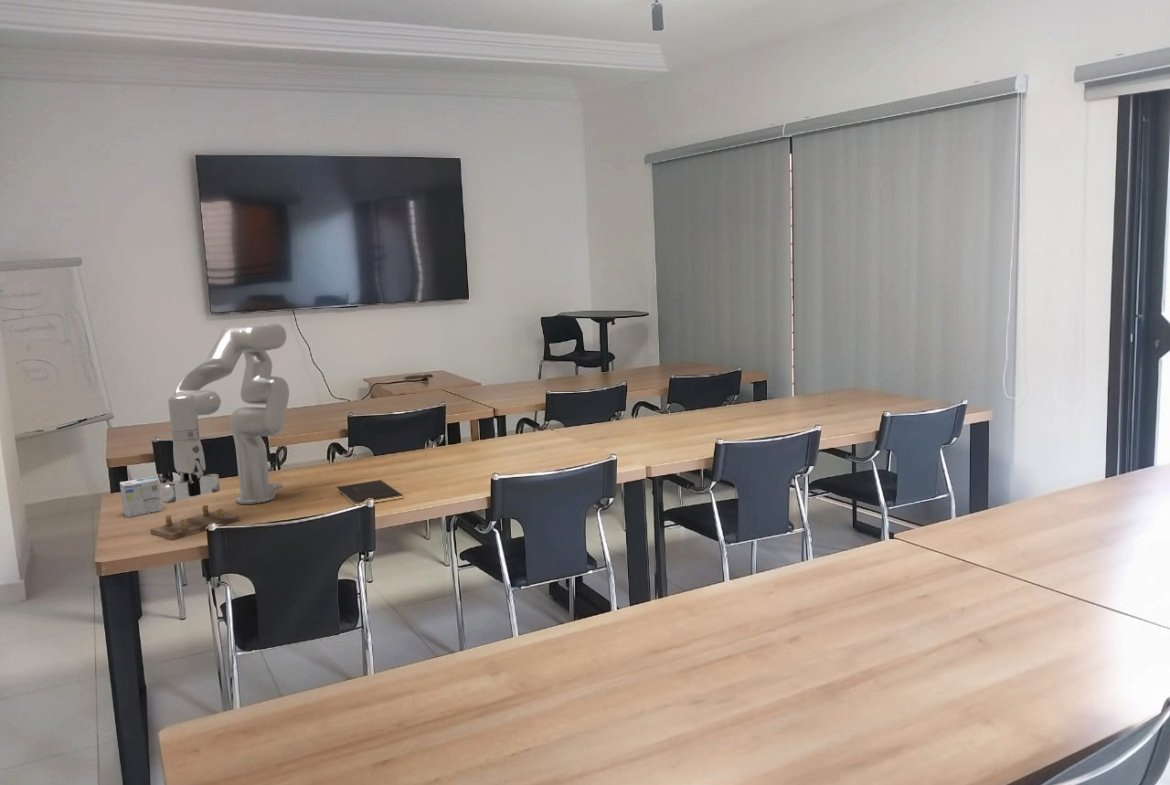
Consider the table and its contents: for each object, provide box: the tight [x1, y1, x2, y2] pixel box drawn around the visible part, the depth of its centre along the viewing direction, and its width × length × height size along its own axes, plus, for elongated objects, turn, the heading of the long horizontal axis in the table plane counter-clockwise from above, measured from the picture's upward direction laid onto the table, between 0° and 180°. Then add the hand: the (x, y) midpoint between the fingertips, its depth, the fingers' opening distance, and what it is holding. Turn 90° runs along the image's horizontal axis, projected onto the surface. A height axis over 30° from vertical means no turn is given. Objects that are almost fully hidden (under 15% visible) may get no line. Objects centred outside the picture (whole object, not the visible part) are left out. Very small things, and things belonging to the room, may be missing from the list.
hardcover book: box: [336, 479, 404, 505], centre depth 299 cm, size 16×23×2 cm
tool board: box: [150, 504, 241, 541], centre depth 270 cm, size 22×12×4 cm, turn 144°
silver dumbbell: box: [159, 473, 221, 504], centre depth 268 cm, size 18×4×5 cm, turn 144°
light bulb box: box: [119, 475, 163, 518], centre depth 288 cm, size 11×7×11 cm, turn 129°
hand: (191, 494), depth 268 cm, fingers closed on silver dumbbell, 3 cm apart
